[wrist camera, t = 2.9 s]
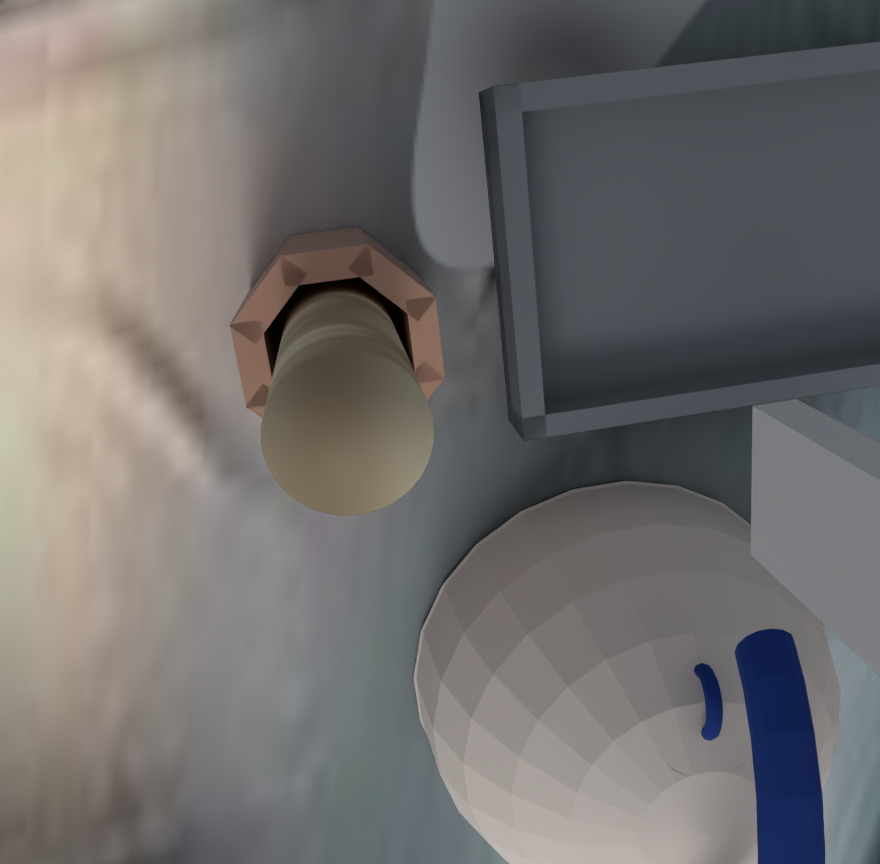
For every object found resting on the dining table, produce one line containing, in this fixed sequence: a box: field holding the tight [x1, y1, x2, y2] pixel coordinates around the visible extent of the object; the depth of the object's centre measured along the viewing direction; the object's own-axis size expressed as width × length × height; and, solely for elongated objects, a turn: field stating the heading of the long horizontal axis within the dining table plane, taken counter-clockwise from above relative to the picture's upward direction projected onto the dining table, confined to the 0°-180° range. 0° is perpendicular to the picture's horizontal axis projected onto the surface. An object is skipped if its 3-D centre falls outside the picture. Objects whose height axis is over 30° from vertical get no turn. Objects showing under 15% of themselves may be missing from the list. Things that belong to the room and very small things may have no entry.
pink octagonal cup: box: [230, 226, 445, 418], centre depth 31 cm, size 7×7×8 cm
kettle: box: [414, 481, 840, 864], centre depth 34 cm, size 20×21×18 cm
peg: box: [261, 277, 434, 515], centre depth 27 cm, size 4×4×16 cm
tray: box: [479, 42, 880, 441], centre depth 35 cm, size 22×14×3 cm, turn 96°
